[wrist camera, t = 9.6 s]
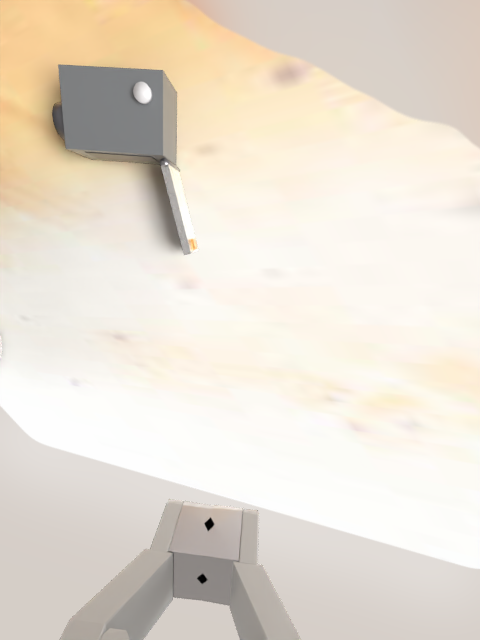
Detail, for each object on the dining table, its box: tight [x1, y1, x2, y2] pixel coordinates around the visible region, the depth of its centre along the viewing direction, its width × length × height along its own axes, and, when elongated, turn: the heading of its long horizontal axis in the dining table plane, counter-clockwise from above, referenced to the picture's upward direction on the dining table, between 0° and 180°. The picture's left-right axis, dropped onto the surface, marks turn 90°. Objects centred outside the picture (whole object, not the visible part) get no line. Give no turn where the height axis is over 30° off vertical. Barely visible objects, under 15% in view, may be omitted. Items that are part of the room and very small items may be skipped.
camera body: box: [52, 65, 177, 165], centre depth 30 cm, size 12×7×5 cm, turn 85°
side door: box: [160, 158, 199, 255], centre depth 33 cm, size 10×1×4 cm, turn 12°
